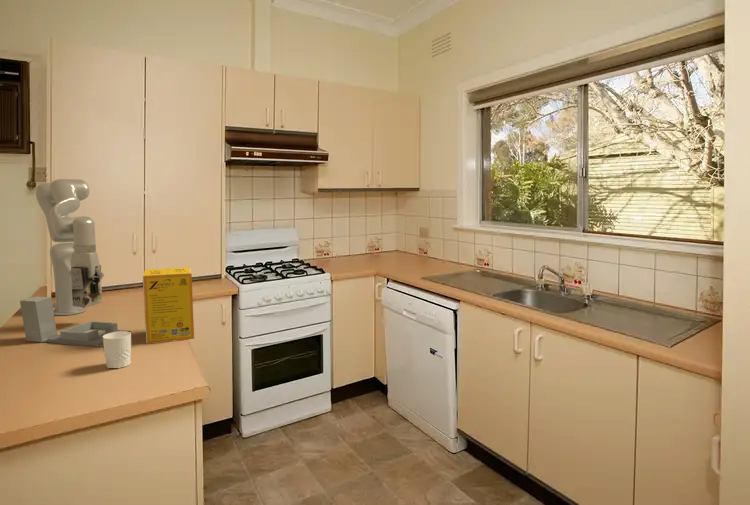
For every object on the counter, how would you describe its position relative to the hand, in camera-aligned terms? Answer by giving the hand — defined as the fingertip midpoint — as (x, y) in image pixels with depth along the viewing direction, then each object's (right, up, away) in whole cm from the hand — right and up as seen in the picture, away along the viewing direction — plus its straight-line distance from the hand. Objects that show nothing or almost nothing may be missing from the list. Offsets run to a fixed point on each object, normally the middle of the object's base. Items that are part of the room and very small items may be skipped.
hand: (87, 291), depth 191 cm
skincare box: (-6, -16, -18) cm, 25 cm away
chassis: (+11, -16, -15) cm, 24 cm away
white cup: (+36, -20, -43) cm, 60 cm away
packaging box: (+39, -16, -11) cm, 44 cm away
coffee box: (0, -5, +1) cm, 5 cm away
